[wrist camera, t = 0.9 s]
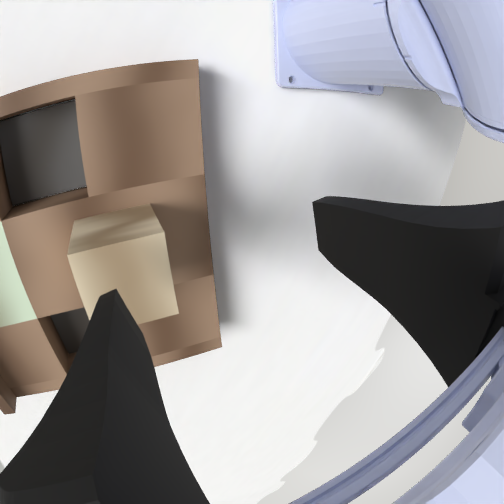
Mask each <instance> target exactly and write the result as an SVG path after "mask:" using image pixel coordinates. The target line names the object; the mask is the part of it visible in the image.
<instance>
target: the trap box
mask: <svg viewBox="0 0 504 504" xmlns="http://www.w3.org/2000/svg"><path fill="white" fill-rule="evenodd" d="M73 99H75V101H71V102H67V103H62V104H58V105H55V106H51V107H47V108H43V109H40V110H36V111H33V112H30V113H26V114H23V115H20V116H17V117H14V118H11V119H8V120H5V121H2V122H0V409H1V411H2V412H3V413H4V414H12V413H15V409H16V397H20V396H26V395H32V394H38V393H43V392H48V391H54V390H59V389H60V387H61V385H62V383H63V381H64V379H65V377H66V375H67V373H68V371H69V369H70V367H71V365H72V363H73V360H74V358H75V356H76V353H77V351H78V348H79V346H80V344H81V342H82V339H83V337H84V334H85V332H86V329H87V326H88V324H89V321H90V320H89V318H88V315H87V312H86V310H85V307H84V304H83V302H82V299H81V296H80V293H79V291H78V288H77V285H76V282H75V279H74V276H73V273H72V270H71V266H70V263H69V260H68V257H67V253H68V248H69V243H70V238H71V233H72V229H73V224H74V221H76V220H80V219H84V218H88V217H92V216H96V215H100V214H104V213H109V212H113V211H118V210H122V209H126V208H131V207H136V206H140V205H145V204H150V205H151V207H152V209H153V211H154V213H155V215H156V217H157V219H158V221H159V223H160V225H161V227H162V228H163V230H164V233H165V239H166V245H167V251H168V257H169V263H170V269H171V275H172V280H173V285H174V291H175V296H176V301H177V306H178V311H179V314H176V315H172V316H168V317H164V318H161V319H157V320H153V321H149V322H145V323H142V324H138V326H139V328H140V329H141V331H142V333H143V335H144V338H145V341H146V343H147V346H148V349H149V352H150V354H151V357H152V361H153V365H154V367H156V366H160V365H163V364H167V363H170V362H174V361H177V360H181V359H184V358H188V357H191V356H194V355H198V354H201V353H204V352H207V351H211V350H214V349H217V348H220V347H222V343H221V335H220V327H219V319H218V310H217V301H216V292H215V283H214V274H213V264H212V254H211V244H210V233H209V222H208V210H207V198H206V186H205V173H204V159H203V144H202V128H201V110H200V90H199V66H198V59H193V60H177V61H164V62H154V63H145V64H137V65H129V66H122V67H116V68H110V69H104V70H98V71H93V72H88V73H83V74H79V75H74V76H70V77H65V78H61V79H57V80H53V81H50V82H46V83H42V84H39V85H35V86H32V87H28V88H25V89H22V90H19V91H16V92H13V93H10V94H7V95H4V96H1V97H0V120H3V119H6V118H9V117H12V116H15V115H18V114H21V113H25V112H28V111H31V110H35V109H38V108H42V107H45V106H49V105H53V104H57V103H61V102H65V101H69V100H73ZM84 186H87V187H84ZM80 187H83V188H80ZM76 188H79V189H76ZM72 189H75V190H72ZM68 190H71V191H68ZM64 191H67V192H64ZM60 192H63V193H60ZM57 193H59V194H57ZM53 194H55V195H53ZM49 195H52V196H49ZM46 196H48V197H46ZM42 197H44V198H42ZM38 198H41V199H38ZM35 199H37V200H35ZM31 200H34V201H31ZM28 201H30V202H28ZM24 202H27V203H24ZM21 203H23V204H21ZM18 204H20V205H18ZM14 205H17V206H14Z"/></svg>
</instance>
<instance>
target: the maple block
mask: <svg viewBox="0 0 504 504" xmlns="http://www.w3.org/2000/svg"><path fill="white" fill-rule="evenodd" d="M67 257H68V260H69V263H70V266H71V270H72V273H73V276H74V279H75V282H76V285H77V288H78V291H79V293H80V296H81V299H82V302H83V304H84V307H85V310H86V312H87V315H88V318H89V320H90V319H91V316H92V313H93V311H94V308H95V306H96V303H97V301H98V299H99V297H100V296H101V295H103V294H105V293H107V292H109V291H111V290H114V289H117V291H118V292H119V294H120V296H121V298H122V299H123V301H124V303H125V305H126V306H127V308H128V310H129V311H130V313H131V315H132V316H133V318H134V320H135V321H136V323H137V325H138V324H142V323H145V322H149V321H153V320H157V319H161V318H164V317H168V316H172V315H176V314H179V311H178V306H177V301H176V296H175V291H174V285H173V280H172V275H171V269H170V263H169V257H168V251H167V245H166V239H165V233H164V230H163V228H162V227H161V225H160V223H159V221H158V219H157V217H156V215H155V213H154V211H153V209H152V207H151V205H150V204H145V205H140V206H136V207H131V208H126V209H122V210H118V211H113V212H109V213H104V214H100V215H96V216H92V217H88V218H84V219H80V220H76V221H74V224H73V229H72V233H71V238H70V243H69V248H68V253H67Z"/></svg>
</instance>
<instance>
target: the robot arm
mask: <svg viewBox="0 0 504 504" xmlns="http://www.w3.org/2000/svg"><path fill="white" fill-rule="evenodd" d="M273 12H274V40H275V76H276V83H277V85H278V86H280V87H289V88H311V89H326V90H338V91H349V92H358V93H366V94H374V95H381V94H382V93H383V86H392V87H403V88H413V89H422V90H430V91H435V92H436V93H437V94H438V95H439V97H440V99H441V101H442V103H443V104H446V105H451V106H456V107H461V108H462V110H463V113H464V116H465V117H466V119H467V121H468V122H469V123H470V124H471V126H472V127H473V128H475V129H476V130H477V131H478V132H480V133H481V134H483V135H485V136H486V137H489V138H491V139H493V140H496V141H499V142H502V143H504V0H273ZM289 77H291V78H292V80H293V81H292V83H290V82H289ZM368 87H370V88H368ZM312 203H313V211H314V218H315V225H316V233H317V241H318V249H319V251H320V252H321V253H322V254H323V255H324V256H325V258H326V259H327V260H328V261H329V262H330V263H331V264H332V265H333V266H334V267H335V268H336V269H338V270H339V271H340V272H341V273H342V274H344V275H345V276H346V277H347V278H349V279H350V280H351V281H353V282H354V283H355V284H356V285H358V286H359V287H360V288H361V289H363V290H364V291H365V292H367V293H368V294H369V295H370V296H372V297H373V298H374V299H375V300H377V301H378V302H379V303H380V304H381V305H382V306H384V307H385V308H386V309H387V310H388V311H389V312H390V313H391V314H392V315H393V316H394V317H395V319H396V320H397V321H398V322H399V323H400V324H401V325H402V326H403V327H404V328H405V329H406V331H407V332H408V333H409V334H410V335H411V336H412V337H413V339H414V340H415V341H416V342H417V343H418V345H419V346H420V347H421V348H422V350H423V351H424V352H425V353H426V355H427V356H428V357H429V359H430V360H431V361H432V363H433V364H434V366H435V367H436V369H437V370H438V372H439V373H440V375H441V376H442V378H443V379H444V381H445V383H446V384H447V386H448V388H447V389H446V390H445V391H444V392H443V393H442V394H441V395H440V396H439V397H438V398H437V399H436V400H435V401H434V402H433V403H432V404H431V405H430V406H429V407H428V408H426V409H425V410H424V411H423V412H422V413H421V414H420V415H418V416H417V417H416V418H415V419H414V420H413V421H412V422H410V423H409V424H408V425H407V426H406V427H405V428H403V429H402V430H401V431H400V432H398V433H397V434H396V435H395V436H393V437H392V438H391V439H389V440H388V441H387V442H386V443H384V444H383V445H382V446H380V447H379V448H378V449H376V450H375V451H374V452H372V453H371V454H370V455H368V456H367V457H365V458H364V459H362V460H361V461H359V462H358V463H356V464H355V465H353V466H352V467H351V468H349V469H348V470H346V471H345V472H343V473H341V474H340V475H338V476H337V477H335V478H333V479H332V480H330V481H328V482H327V483H325V484H324V485H322V486H320V487H319V488H317V489H315V490H313V491H311V492H310V493H308V494H306V495H304V496H302V497H300V498H299V499H297V500H295V501H293V502H291V503H289V504H348V503H349V502H351V501H352V500H354V499H355V498H357V497H358V496H360V495H361V494H363V493H364V492H366V491H367V490H369V489H370V488H372V487H373V486H374V485H376V484H377V483H379V482H380V481H381V480H383V479H384V478H385V477H387V476H388V475H389V474H391V473H392V472H393V471H395V470H396V469H397V468H398V467H400V466H401V465H402V464H403V463H405V462H406V461H407V460H408V459H409V458H411V457H412V456H413V455H414V454H415V453H417V452H418V451H419V450H420V449H421V448H422V447H423V446H425V444H427V443H428V442H429V441H430V440H431V439H432V438H433V437H434V436H435V435H436V434H438V433H439V432H440V431H441V430H442V429H443V428H444V427H445V426H446V425H447V424H448V423H449V422H450V421H451V420H452V419H453V418H454V417H455V416H456V415H457V414H458V413H459V412H460V410H461V409H462V408H463V407H464V406H465V405H466V404H467V403H468V402H469V401H470V400H471V399H472V397H473V396H474V395H475V394H476V393H477V392H478V391H479V389H480V388H481V387H482V386H483V385H484V384H485V382H486V381H487V380H488V379H489V377H490V376H491V379H492V380H491V381H490V383H489V384H488V386H487V387H486V388H485V389H484V391H483V393H482V395H481V397H480V398H479V400H478V401H477V403H476V404H475V406H474V407H473V409H472V410H471V412H470V413H469V414H468V415H467V417H466V418H465V419H464V420H463V422H462V425H463V426H464V427H465V428H466V429H467V430H468V431H469V432H470V433H469V434H468V435H467V436H466V437H465V438H464V439H463V440H462V441H461V442H460V444H459V445H458V446H457V447H456V448H455V449H454V450H453V451H452V452H451V453H450V454H449V455H448V456H447V457H446V458H445V459H444V460H443V461H442V462H440V463H439V464H438V465H437V466H436V467H435V468H434V469H433V470H432V471H431V472H430V473H428V474H427V475H426V476H425V477H424V478H423V479H422V480H421V481H420V482H418V483H417V484H416V485H415V486H413V487H412V488H411V489H410V490H409V491H407V492H406V493H405V494H404V495H402V496H401V497H400V498H399V499H397V500H396V501H395V502H393V503H392V504H504V201H499V202H493V203H486V204H476V205H464V206H423V205H408V204H398V203H389V202H381V201H373V200H365V199H357V198H348V197H336V196H327V197H324V198H321V199H319V200H316V201H314V202H312ZM0 504H210V503H209V501H208V500H207V498H206V496H205V495H204V493H203V491H202V489H201V488H200V486H199V484H198V482H197V480H196V479H195V477H194V475H193V473H192V471H191V469H190V467H189V465H188V463H187V461H186V459H185V457H184V455H183V453H182V451H181V449H180V446H179V444H178V442H177V440H176V438H175V435H174V433H173V431H172V428H171V426H170V423H169V420H168V417H167V414H166V411H165V407H164V404H163V400H162V396H161V393H160V389H159V385H158V381H157V377H156V373H155V369H154V365H153V361H152V357H151V354H150V352H149V349H148V346H147V343H146V341H145V338H144V335H143V333H142V331H141V329H140V328H139V326H138V325H137V323H136V321H135V320H134V318H133V316H132V315H131V313H130V311H129V310H128V308H127V306H126V305H125V303H124V301H123V299H122V298H121V296H120V294H119V292H118V291H117V289H114V290H111V291H109V292H107V293H105V294H103V295H101V296H100V297H99V299H98V301H97V303H96V306H95V308H94V311H93V313H92V316H91V319H90V321H89V324H88V326H87V329H86V332H85V334H84V337H83V339H82V342H81V344H80V346H79V348H78V351H77V353H76V356H75V358H74V360H73V363H72V365H71V367H70V369H69V371H68V373H67V375H66V377H65V379H64V381H63V383H62V385H61V387H60V389H59V391H58V393H57V395H56V396H55V398H54V400H53V401H52V403H51V404H50V406H49V408H48V409H47V411H46V413H45V415H44V416H43V418H42V420H41V421H40V423H39V424H38V426H37V427H36V428H35V430H34V431H33V433H32V434H31V436H30V437H29V438H28V440H27V441H26V443H25V444H24V445H23V447H22V448H21V449H20V451H19V452H18V453H17V454H16V455H15V457H14V458H13V459H12V460H11V461H10V463H9V464H8V465H7V466H6V468H5V469H4V470H3V471H2V472H1V473H0Z"/></svg>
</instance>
